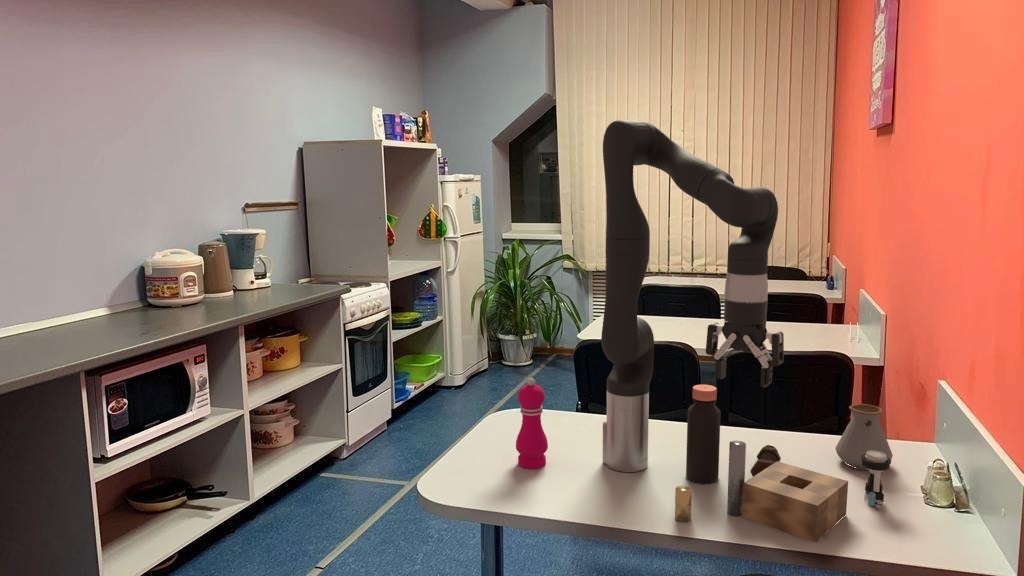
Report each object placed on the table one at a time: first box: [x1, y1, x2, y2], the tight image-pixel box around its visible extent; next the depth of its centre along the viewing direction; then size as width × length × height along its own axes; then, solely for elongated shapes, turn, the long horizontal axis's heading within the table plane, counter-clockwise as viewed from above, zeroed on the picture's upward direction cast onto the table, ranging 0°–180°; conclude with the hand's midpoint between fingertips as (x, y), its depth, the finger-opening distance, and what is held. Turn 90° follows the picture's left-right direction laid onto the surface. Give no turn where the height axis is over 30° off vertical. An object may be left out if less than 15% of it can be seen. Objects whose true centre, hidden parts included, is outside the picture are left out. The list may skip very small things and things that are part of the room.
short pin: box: [674, 485, 693, 524], centre depth 142 cm, size 3×3×6 cm
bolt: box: [749, 444, 782, 477], centre depth 163 cm, size 6×5×15 cm
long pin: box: [726, 440, 747, 517], centre depth 144 cm, size 3×3×14 cm
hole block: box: [741, 461, 849, 543], centre depth 142 cm, size 14×14×7 cm
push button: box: [861, 450, 892, 510], centre depth 147 cm, size 7×5×10 cm
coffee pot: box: [835, 403, 893, 472], centre depth 161 cm, size 21×12×15 cm, turn 156°
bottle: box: [685, 384, 722, 485], centre depth 159 cm, size 7×7×20 cm
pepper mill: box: [515, 377, 549, 470], centre depth 168 cm, size 7×7×20 cm
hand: (742, 382), depth 141 cm, fingers open, 8 cm apart
